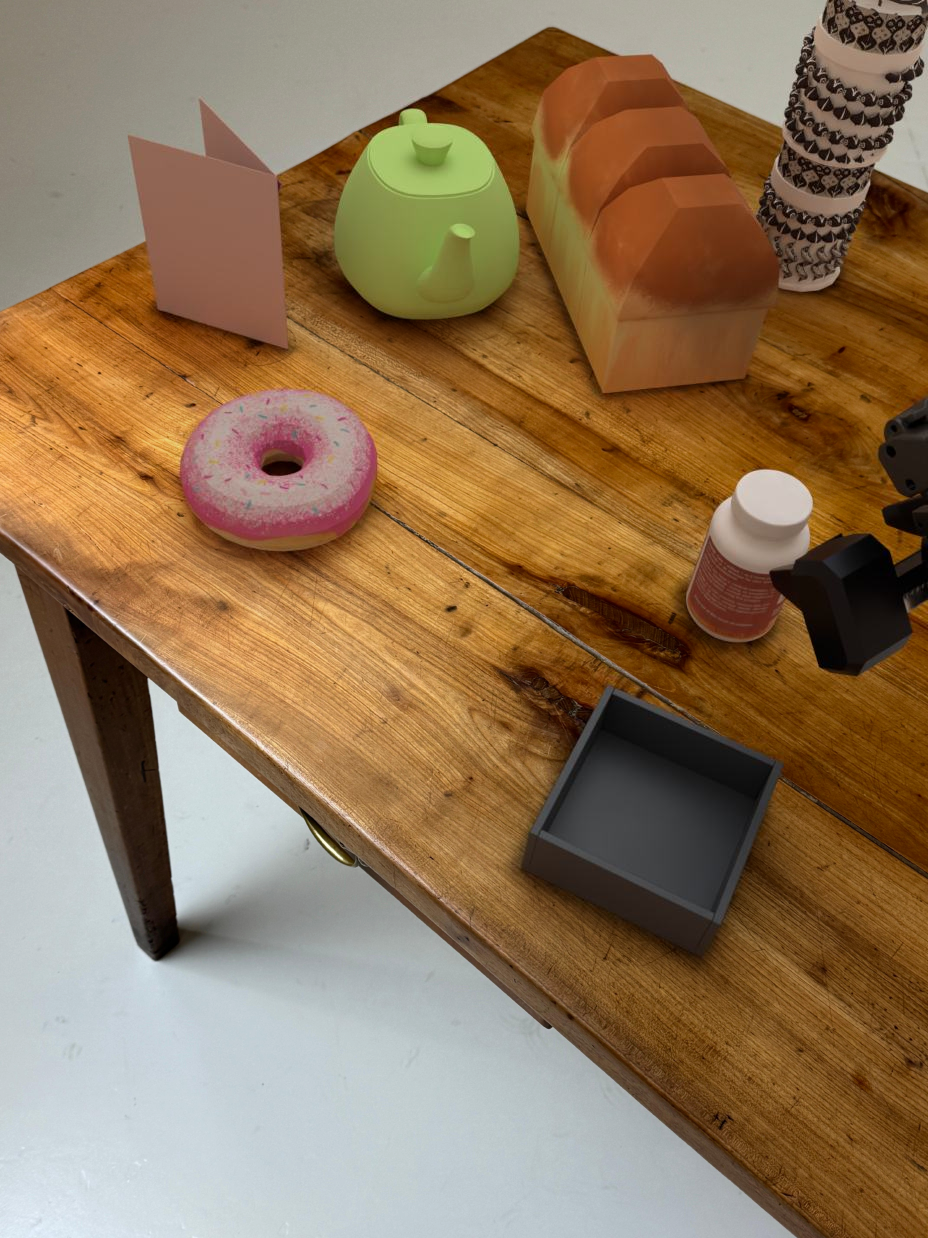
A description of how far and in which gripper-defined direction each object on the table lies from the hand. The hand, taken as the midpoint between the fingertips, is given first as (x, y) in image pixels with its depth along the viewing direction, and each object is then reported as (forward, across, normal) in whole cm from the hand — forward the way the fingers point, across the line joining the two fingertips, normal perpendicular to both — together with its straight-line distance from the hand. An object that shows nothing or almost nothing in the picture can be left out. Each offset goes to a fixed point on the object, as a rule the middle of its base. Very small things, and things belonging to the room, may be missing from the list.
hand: (830, 545), depth 68 cm
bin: (+4, +16, +12) cm, 20 cm away
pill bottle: (+11, 0, +5) cm, 12 cm away
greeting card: (+42, +16, -26) cm, 52 cm away
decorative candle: (+30, -31, -14) cm, 45 cm away
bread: (+33, -16, -16) cm, 40 cm away
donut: (+29, +20, -12) cm, 37 cm away
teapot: (+39, -1, -22) cm, 45 cm away
